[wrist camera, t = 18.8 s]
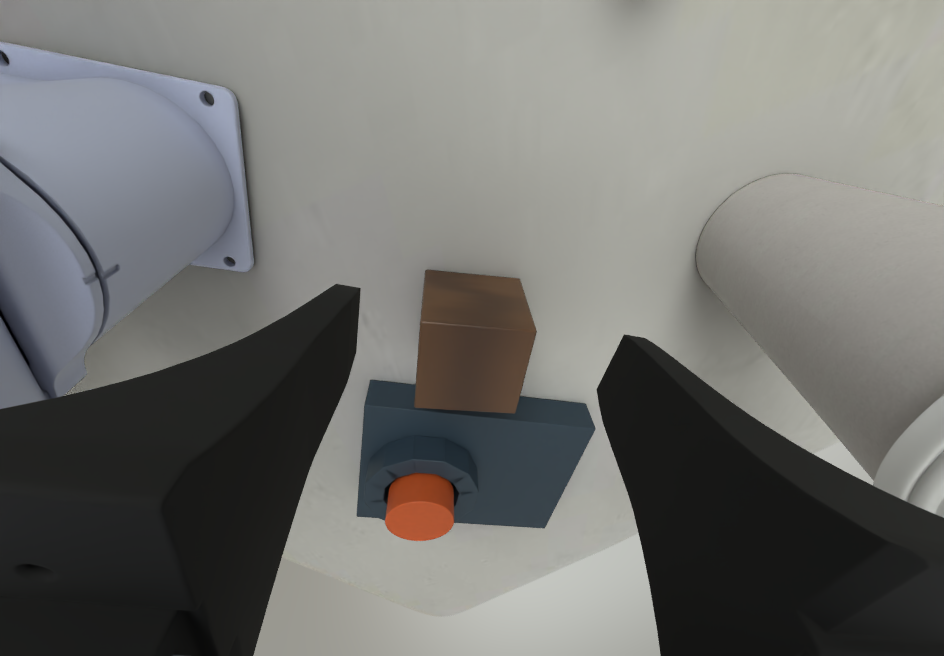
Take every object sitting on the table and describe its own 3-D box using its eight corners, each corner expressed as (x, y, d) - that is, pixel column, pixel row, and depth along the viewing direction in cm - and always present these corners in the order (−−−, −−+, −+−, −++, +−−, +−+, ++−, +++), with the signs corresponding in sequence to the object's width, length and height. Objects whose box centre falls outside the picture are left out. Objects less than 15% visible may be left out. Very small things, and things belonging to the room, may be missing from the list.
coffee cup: (682, 340, 25) (920, 633, 12) (648, 196, 20) (993, 444, 7) (855, 274, 23) (1348, 545, 10) (867, 97, 18) (1847, 203, 5)
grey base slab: (361, 489, 31) (351, 541, 28) (370, 379, 25) (358, 429, 22) (539, 502, 33) (549, 552, 30) (585, 403, 27) (605, 452, 24)
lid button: (386, 508, 26) (382, 539, 25) (392, 468, 24) (387, 499, 23) (448, 512, 27) (448, 542, 25) (458, 473, 25) (459, 504, 23)
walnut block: (419, 346, 24) (413, 408, 20) (425, 268, 21) (420, 321, 17) (504, 353, 25) (515, 414, 20) (520, 277, 22) (537, 331, 18)
